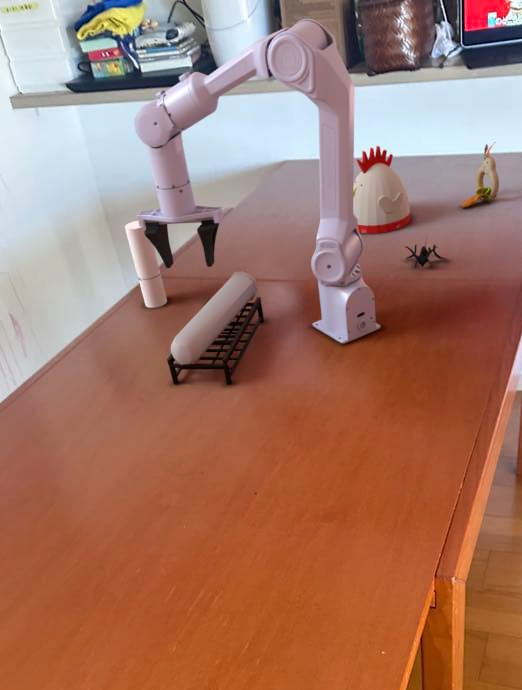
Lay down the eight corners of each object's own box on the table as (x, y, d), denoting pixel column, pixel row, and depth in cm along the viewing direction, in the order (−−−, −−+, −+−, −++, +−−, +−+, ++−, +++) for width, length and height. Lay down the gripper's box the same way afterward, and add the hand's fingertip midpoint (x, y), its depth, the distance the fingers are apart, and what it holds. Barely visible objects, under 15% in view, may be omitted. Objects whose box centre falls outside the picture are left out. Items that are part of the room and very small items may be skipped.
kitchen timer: (335, 221, 169) (329, 148, 159) (388, 205, 172) (386, 132, 162) (366, 238, 159) (362, 162, 149) (422, 221, 162) (422, 145, 153)
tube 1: (171, 298, 148) (152, 220, 138) (159, 308, 146) (139, 229, 136) (152, 297, 150) (133, 219, 140) (141, 306, 147) (120, 228, 137)
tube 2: (196, 348, 115) (259, 276, 132) (165, 335, 116) (231, 266, 132) (194, 376, 119) (255, 303, 136) (163, 364, 120) (228, 293, 136)
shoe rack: (264, 320, 136) (261, 296, 133) (231, 385, 121) (226, 359, 118) (212, 321, 139) (207, 297, 136) (172, 384, 123) (166, 359, 120)
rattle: (453, 199, 170) (454, 143, 162) (489, 193, 170) (492, 137, 163) (463, 210, 164) (465, 153, 157) (500, 204, 165) (503, 146, 157)
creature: (409, 261, 150) (399, 269, 144) (410, 232, 148) (400, 239, 141) (448, 262, 148) (440, 270, 141) (450, 233, 145) (442, 239, 139)
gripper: (221, 172, 125) (235, 254, 134) (140, 177, 128) (159, 257, 137) (209, 187, 120) (224, 271, 129) (124, 192, 123) (145, 273, 132)
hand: (190, 265), depth 133 cm, fingers open, 7 cm apart
